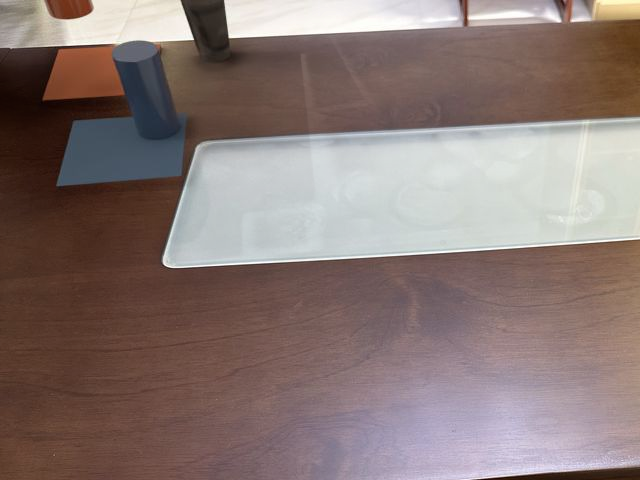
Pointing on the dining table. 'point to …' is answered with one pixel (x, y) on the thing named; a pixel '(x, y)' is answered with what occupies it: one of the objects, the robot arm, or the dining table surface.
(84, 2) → the orange cylinder
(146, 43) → the navy blue cylinder
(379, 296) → the dining table surface
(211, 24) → the beverage cup
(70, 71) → the terracotta mat
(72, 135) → the blue mat
